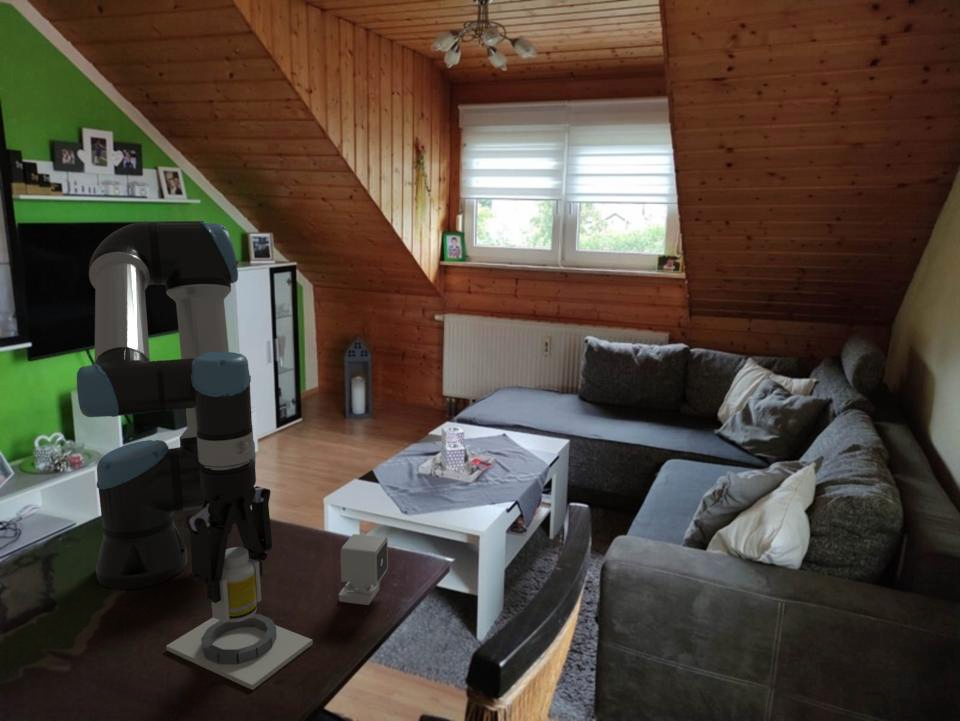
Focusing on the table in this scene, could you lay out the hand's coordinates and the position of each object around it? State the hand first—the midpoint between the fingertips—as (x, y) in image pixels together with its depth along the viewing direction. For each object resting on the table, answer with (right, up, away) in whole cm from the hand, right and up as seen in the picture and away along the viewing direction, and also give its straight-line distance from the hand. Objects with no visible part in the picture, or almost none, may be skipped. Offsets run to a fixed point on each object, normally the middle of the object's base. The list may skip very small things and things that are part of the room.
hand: (237, 608), depth 104 cm
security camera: (+16, -4, +16) cm, 23 cm away
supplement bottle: (0, -1, 0) cm, 1 cm away
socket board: (0, -7, +1) cm, 7 cm away
